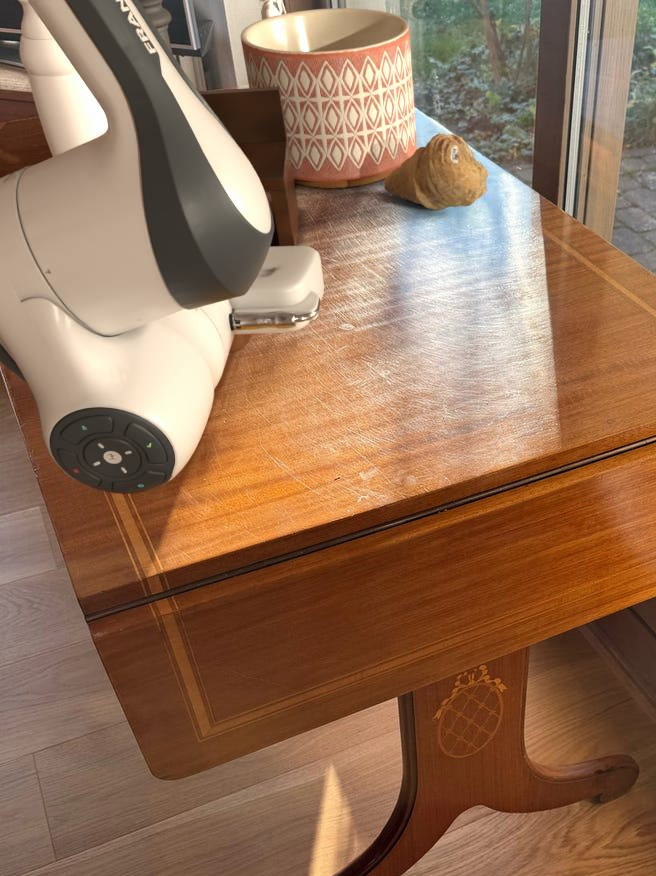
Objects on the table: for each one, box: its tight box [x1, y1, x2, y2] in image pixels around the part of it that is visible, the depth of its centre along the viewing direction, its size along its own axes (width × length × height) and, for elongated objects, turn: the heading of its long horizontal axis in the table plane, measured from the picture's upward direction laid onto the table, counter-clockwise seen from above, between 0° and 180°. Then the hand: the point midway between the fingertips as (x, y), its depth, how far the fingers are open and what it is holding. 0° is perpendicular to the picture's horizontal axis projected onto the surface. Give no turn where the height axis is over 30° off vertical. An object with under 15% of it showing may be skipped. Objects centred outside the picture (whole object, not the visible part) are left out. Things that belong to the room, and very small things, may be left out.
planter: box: [240, 7, 418, 189], centre depth 117 cm, size 19×19×15 cm
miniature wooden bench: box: [198, 86, 300, 246], centre depth 103 cm, size 16×12×13 cm
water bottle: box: [17, 0, 108, 157], centre depth 100 cm, size 7×7×25 cm
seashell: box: [383, 132, 489, 211], centre depth 110 cm, size 14×8×8 cm
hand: (202, 244), depth 78 cm, fingers closed on wooden figurine, 5 cm apart
